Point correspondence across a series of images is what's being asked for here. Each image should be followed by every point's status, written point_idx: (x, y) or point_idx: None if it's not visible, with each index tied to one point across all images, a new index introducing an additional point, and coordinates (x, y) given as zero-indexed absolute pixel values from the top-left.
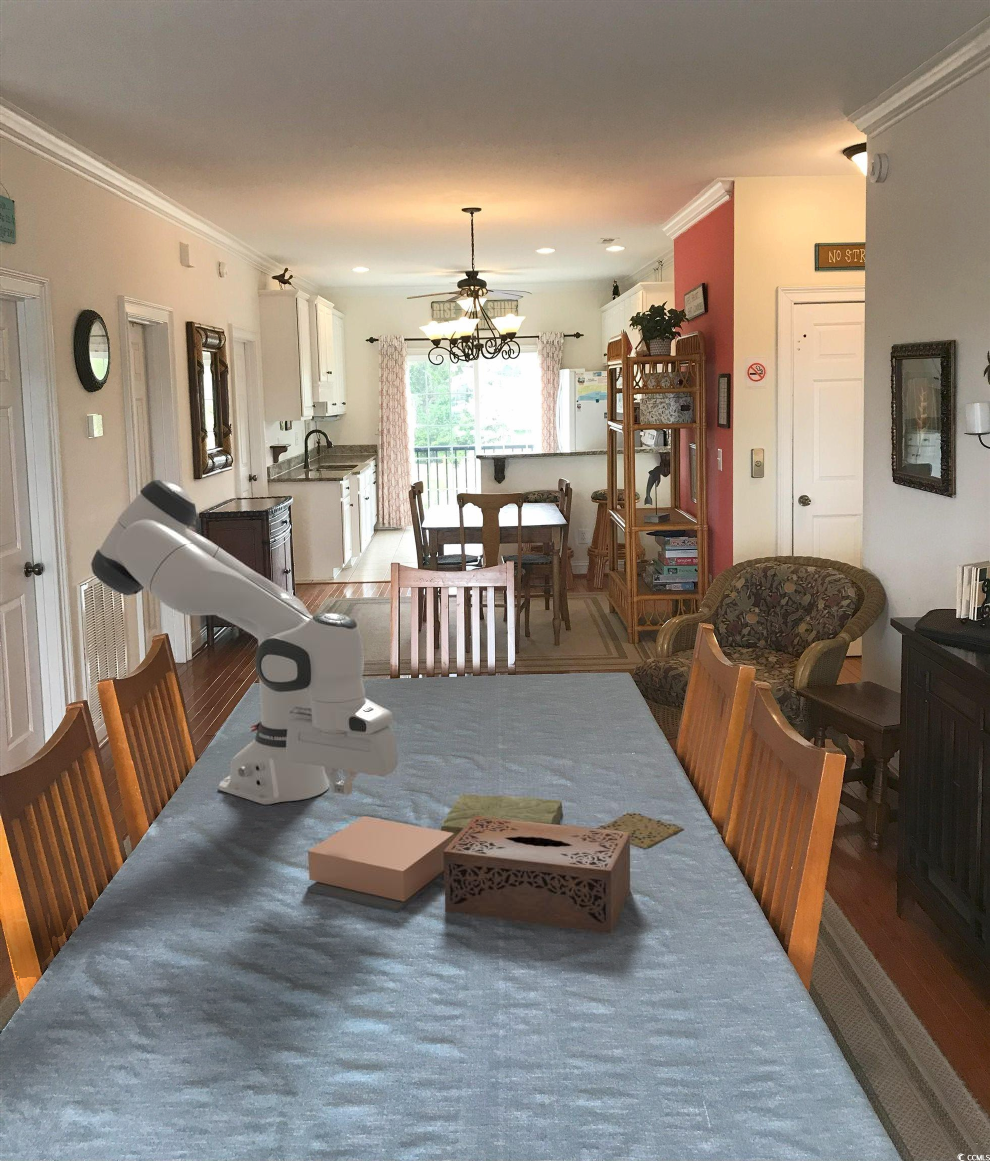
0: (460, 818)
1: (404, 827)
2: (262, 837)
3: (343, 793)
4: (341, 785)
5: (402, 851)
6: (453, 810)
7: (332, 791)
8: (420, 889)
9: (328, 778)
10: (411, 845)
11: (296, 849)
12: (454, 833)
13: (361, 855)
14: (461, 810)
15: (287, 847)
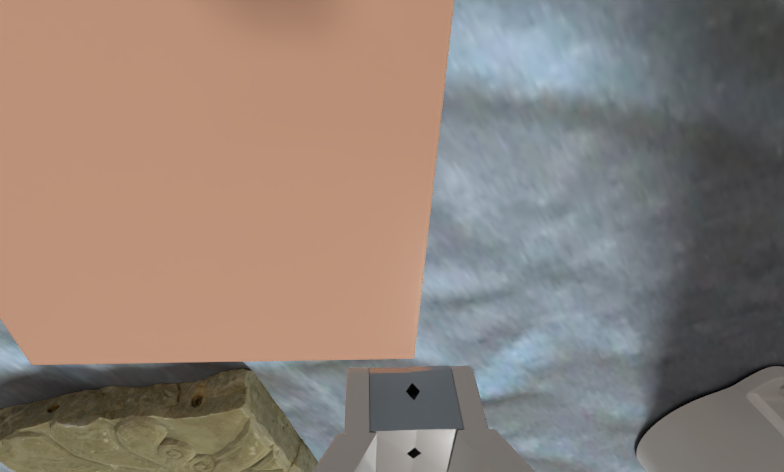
0: (231, 444)
1: (220, 342)
2: (734, 230)
3: (373, 372)
4: (390, 426)
5: (25, 175)
6: (271, 462)
7: (469, 370)
8: None
9: (526, 463)
10: (56, 238)
11: (600, 205)
12: (214, 397)
13: (148, 54)
14: (256, 467)
15: (634, 205)
